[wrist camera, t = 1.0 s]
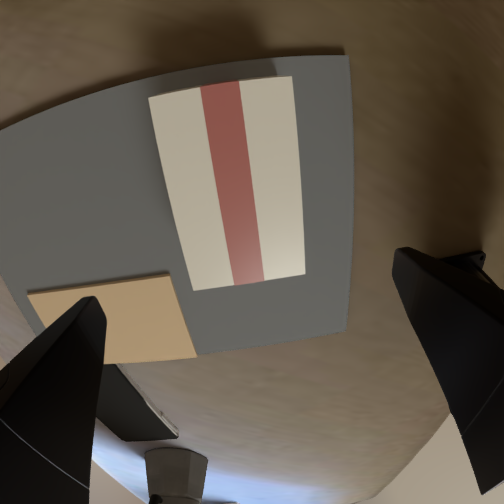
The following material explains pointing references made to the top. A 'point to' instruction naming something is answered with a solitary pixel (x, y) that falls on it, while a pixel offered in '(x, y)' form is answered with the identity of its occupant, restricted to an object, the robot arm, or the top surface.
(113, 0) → the top surface
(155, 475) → the coffeepot
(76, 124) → the mat
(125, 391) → the smartphone
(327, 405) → the top surface
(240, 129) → the card box
